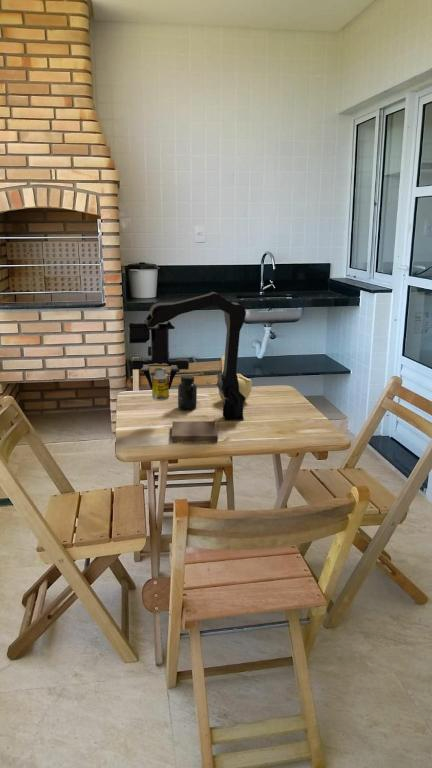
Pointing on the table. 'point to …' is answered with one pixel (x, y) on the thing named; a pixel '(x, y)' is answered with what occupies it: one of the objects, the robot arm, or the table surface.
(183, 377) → the supplement bottle
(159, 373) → the supplement bottle
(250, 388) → the sculpture
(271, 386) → the table surface
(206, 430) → the walnut block
